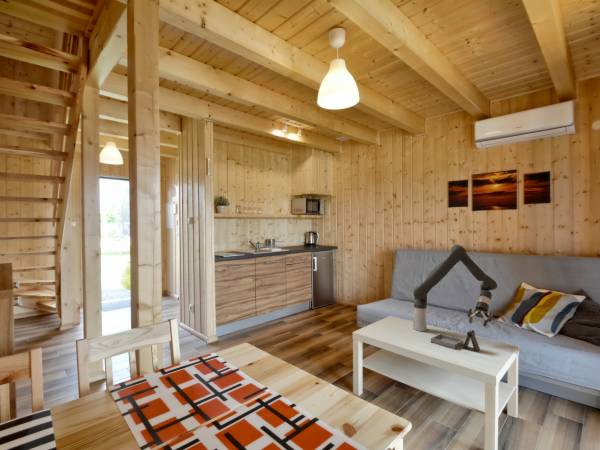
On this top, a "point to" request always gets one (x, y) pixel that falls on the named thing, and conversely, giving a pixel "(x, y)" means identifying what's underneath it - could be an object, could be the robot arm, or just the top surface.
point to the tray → (447, 341)
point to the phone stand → (474, 342)
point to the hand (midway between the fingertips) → (477, 324)
